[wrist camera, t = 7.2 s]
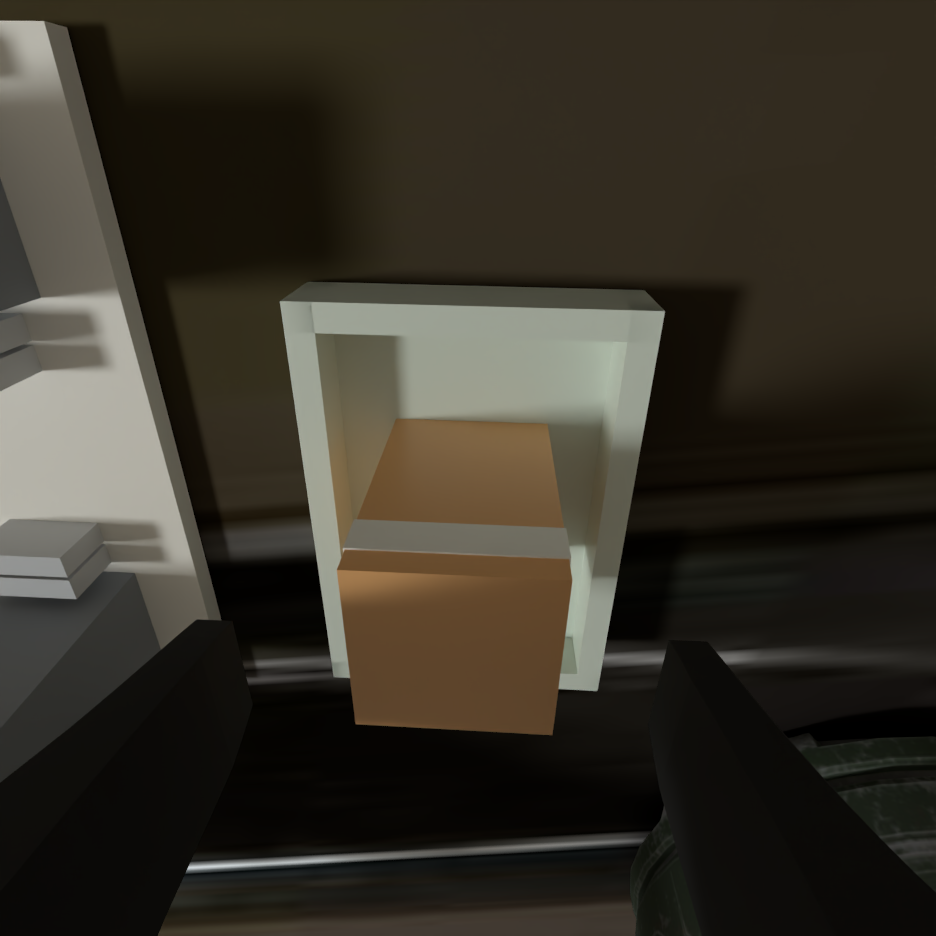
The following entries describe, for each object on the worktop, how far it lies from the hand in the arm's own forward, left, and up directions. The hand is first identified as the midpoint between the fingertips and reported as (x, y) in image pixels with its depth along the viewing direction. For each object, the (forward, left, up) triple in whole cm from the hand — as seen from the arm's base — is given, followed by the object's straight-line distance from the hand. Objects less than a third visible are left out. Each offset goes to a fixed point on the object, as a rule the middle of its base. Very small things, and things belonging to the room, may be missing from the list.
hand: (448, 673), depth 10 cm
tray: (0, 0, -6) cm, 6 cm away
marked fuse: (+1, 0, -5) cm, 5 cm away
